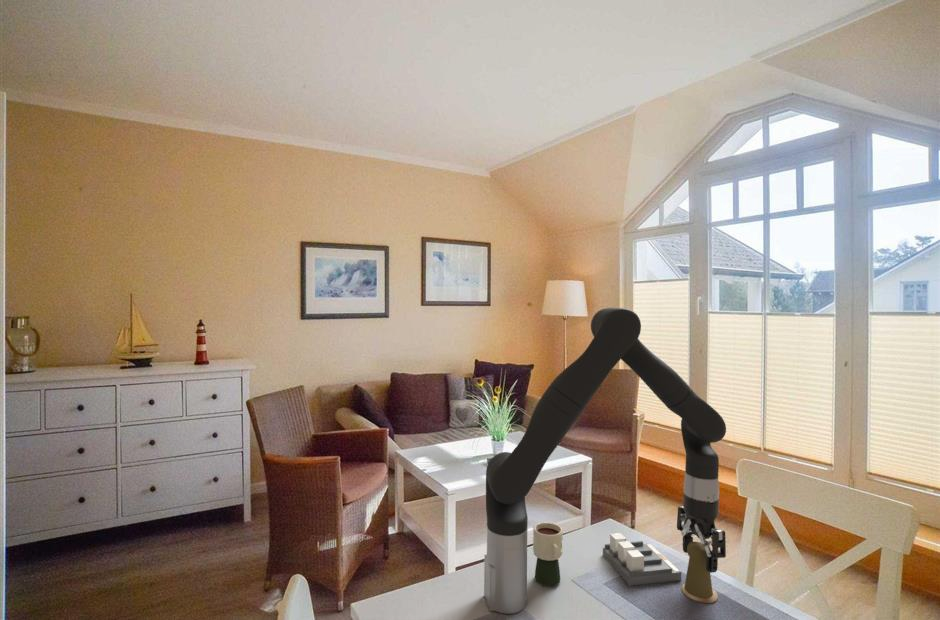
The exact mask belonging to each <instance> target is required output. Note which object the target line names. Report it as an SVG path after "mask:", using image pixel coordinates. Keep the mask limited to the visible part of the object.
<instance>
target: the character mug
mask: <svg viewBox="0 0 940 620" xmlns="http://www.w3.org/2000/svg"><path fill="white" fill-rule="evenodd" d="M563 533H564V532H563V528H562V526H560V525H559V524H557V523H554V522H549V521H548V522H547V521H545V522H539V523H536V524H534V526H533V535H532V536H533V538H532V539H533V541H532V543H533V545H532V552H533V555H534V556H535V557H536V564H535V570H534V571H535V572H534V580H535V581H536V582H537V583H538V584H540V585H545V586H557V585H559V584H560V583H561V568H560V563H559V559H560V558H561V556H562V555H563V553H564V552H563V540H564V535H563Z"/></svg>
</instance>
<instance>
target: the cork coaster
mask: <svg viewBox="0 0 940 620" xmlns="http://www.w3.org/2000/svg"><path fill="white" fill-rule="evenodd" d="M712 591H713V595H712V597H710V598H698V597H695V596H693V595H691V594H689V593H688V592H687V591H686V590H685V582H684V583H683V584H682V586H681V592H682V593H683V595H685V596H686V597H687V598H688V599H690V600H693V601H694V602H697V603H702V604H712V603H713V604H714V603H716V602H717V601H718V592H717V591H716V590H715V589H714V588H713V587H712Z"/></svg>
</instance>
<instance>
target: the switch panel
mask: <svg viewBox="0 0 940 620" xmlns="http://www.w3.org/2000/svg"><path fill="white" fill-rule="evenodd" d="M629 542H630V543H631V544H632V545H633V546H634V547H635V550H638V551H639V552H640V553H641V554H642V555H643V556H644V570H639V571H630V570H629V569H628V568H627V567H626V562H627V561H623V562H622V561H621V560H620V559H619V558H618V552H614V553H613V551H612V550H611V549H610V543H605V544H604V547H602V556H603V557H604V559H605V560H606V561H607V562H608V563H609V564H610V566H611V567H612V568H614V570H615V571H616V572H617V574H619V576H620V575H621V576H622V577H621V576H620V577H621V578H622V579H623V580H624V582H626V583H627V585H628V586H638V585H647V584H656V583H667V582H675V581H682V571H681V570H680V569H679V568H677V566H676V565H674V564H673V563H672V562H671V561H670V560H669V559H668V558H667V557H665V556H664V555H663V554H662V553H661V552H660V551H659V550H658V549H657V548H655V547H654V546H653V545H652V544H651V543H644V541H643V540H639V541H638V540H637V541H636V540H635V541H629Z"/></svg>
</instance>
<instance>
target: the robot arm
mask: <svg viewBox="0 0 940 620" xmlns="http://www.w3.org/2000/svg"><path fill="white" fill-rule="evenodd" d="M590 330H591V334H592V336H593V338H592V340H591V341H590V342H589V344H588V346H587V347H586V349H585V350H584V352H583V353H582V354H581V355H580V356H579V357H578V358H576V360H574V361H573V362H572V363H571V364H569V365H568V366H567V367H566V368H564V370H563V371H561V372H560V373H559V374H558V375H557V376H556V378H554V379H553V380H552V382H551V383H550V385H549V386H548V387H547V388H546V390H545V391H544V393H543V394H542V396H541V397H540V399H539V400H538V402H537V403H536V406H535V407H534V410H533V412H532V415H531V417H530V419H529V422H528V425H527V428H526V431H525V433H524V434H523V436H522V438H521V440H520V441H519V442H518V443H517V445H516V446H515V448H514V449H513V450H512V452H509V451H504V452H503V451H502V452H499V453H497V454H495V455H493V456H492V457H491V459H490V460H489V462H488V464H487V466H486V471H485V510H486V511H485V512H486V554H484V557H483V558H484V559H483V560H484V562H483V563H484V564H483V565H484V571H483V572H484V573H483V575H484V576H483V579H484V580H483V584H484V585H483V595H484V596H483V597H484V599H485V601H486V606H487V608H488V610H489V611H490V612H498V613H500V614H517V613H518V612H521V611H523V610H524V609H525V607H526V606H527V599H528V597H527V596H528V590H527V587H528V524H529V523H528V512H527V507H526V496H528V494H529V492H530V491H531V489H532V487H533V486H534V484H535V482H536V480H537V478H538V476H539V475H540V473H541V471H542V470H543V468H544V466H545V464H546V463H547V461H548V460H549V458H550V457H551V455H552V454H553V452H554V451H555V450H556V448H557V447H558V446H559V444H560V443H561V441H562V440H563V439H564V438H565V436H566V434H567V433H569V430H570V429H571V427H573V425H574V424H575V423H576V421H578V419H579V417H580V416H581V414H582V413H583V412H584V410H585V409H586V407H587V406H588V404H589V403H590V401H591V399H592V398H594V397H593V396H594V395H595V394H596V393H597V392H598V389H599V388H600V387H601V385H602V384H603V383H604V381H605V380H606V378H607V376H608V375H609V373H611V371H612V369H614V368H615V366H616V365H617V364H618V362H620V361H622V362H623V363H624V364H626V365H627V366H628V367H629V368H630V369H631V370H632V371H633V372H634V373H635V374H636V375H637V376H638V377H639V379H640V380H641V381H643V383H644V384H645V385H646V386H647V387H648V388H649V390H651V391H652V392H653V394H654V395H655V396H656V397H657V398H658V399H659V401H661V402H662V404H663V405H664V406H665V407H666V408H667V409H668V410H670V411H671V412H673V413H674V414H675V415H676V416H679V417H680V418H681V421H680V429H681V430H680V431H681V436H682V441H683V448H684V451H685V469H684V472H685V473H684V478H683V503H682V505H681V506H678V507H677V518H676V528H677V529H676V530H678V531H680V534H681V536H682V551H683V552H684V553H686V554H688V552H687V547H688V545H689V543H691V542H694V537H693V536H696V537H697V538H698V539H699V542H701V544H702V545H703V546H704V547H705V549H706V552H707V556H706V570H707V571H708V572H709V573H710V574H712V573H716V572H717V571H718V567H719V566H718V562H719V561H718V559H723V558H726V556H727V551H726V543H727V542H726V532H725V531H726V530H723V529H718V528H717V527H716V524H715V521H716V519H717V518H718V517H719V513H720V512H719V507H720V506H719V505H720V481H719V480H720V479H719V466H720V465H719V464H720V461H719V459H720V458H719V455H718V453H717V452H716V451H715V450H714V449H713V447H712V445H711V444H712V443H714V444H715V443H718V442H720V441H721V440H723V439H724V437H725V436H726V433H727V426H726V422H725V420H724V418H723V417H722V415H720V413H719V412H718V411H716V410H715V408H713V407H712V406H711V405H710V404H708V402H706V401H705V400H704V399H703V398H701V397H700V396H699V395H698V394H697V393H696V392H695V391H694V390H693V388H691V387H690V385H689V384H688V383H687V382H686V381H685V379H683V378H682V377H681V376H680V375H679V374H678V373H677V372H676V371H675V369H673V368H672V367H671V366H669V365H668V364H667V363H666V362H665V361H663V359H661V358H660V357H658V356H657V355H655V354H654V353H653V352H652V351H651V350H650V349H649V348H648V347H646V345H645V344H643V343H642V342H641V340H640V339H639V337H640V334H641V331H642V324H641V319H640V317H639V316H638V314H637V313H636V312H635V311H633V310H632V309H630V308H629V309H628V308H625V307H606V308H602V309H600V310H598V311H597V312H595V314H594V315H593V316H592V319H591V321H590ZM709 539H711V540H709ZM710 546H711V547H712V550H711V547H710Z"/></svg>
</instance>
